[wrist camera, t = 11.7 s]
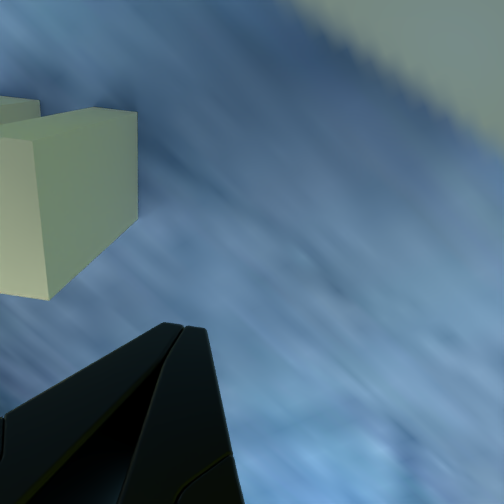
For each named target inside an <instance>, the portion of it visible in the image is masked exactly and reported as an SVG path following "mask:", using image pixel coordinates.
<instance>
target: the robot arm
mask: <svg viewBox="0 0 504 504" xmlns="http://www.w3.org/2000/svg"><path fill="white" fill-rule="evenodd" d="M0 504H245V502H244V498H243V494H242V490H241V486H240V482H239V478H238V474H237V469H236V465H235V460H234V457H233V452H232V447H231V442H230V437H229V433H228V428H227V423H226V418H225V414H224V409H223V404H222V400H221V395H220V390H219V385H218V381H217V376H216V371H215V366H214V362H213V357H212V352H211V347H210V343H209V338H208V333H207V330H206V329H205V328H201V327H194V326H186V327H185V328H184V326H183V325H180V324H174V323H167V322H163V323H161V324H159V325H157V326H156V327H154V328H152V329H150V330H149V331H147V332H145V333H144V334H142V335H140V336H138V337H137V338H135V339H133V340H132V341H130V342H128V343H126V344H125V345H123V346H121V347H120V348H118V349H116V350H114V351H113V352H111V353H109V354H108V355H106V356H104V357H102V358H101V359H99V360H97V361H96V362H94V363H92V364H90V365H89V366H87V367H85V368H84V369H82V370H80V371H78V372H77V373H75V374H73V375H72V376H70V377H68V378H66V379H65V380H63V381H61V382H60V383H58V384H56V385H54V386H53V387H51V388H49V389H48V390H46V391H44V392H42V393H41V394H39V395H37V396H36V397H34V398H32V399H30V400H29V401H27V402H25V403H24V404H22V405H20V406H18V407H17V408H15V409H13V410H12V411H10V412H8V413H6V414H5V416H4V418H3V417H0Z"/></svg>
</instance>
